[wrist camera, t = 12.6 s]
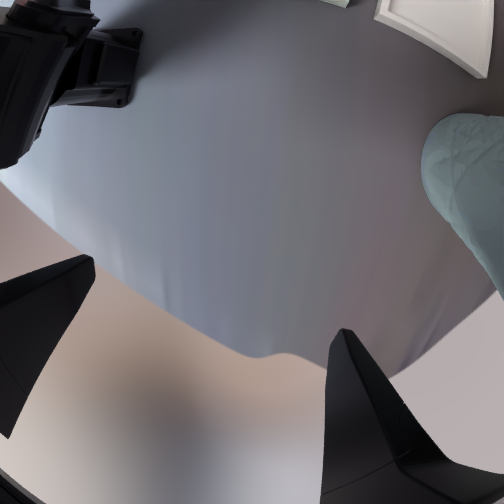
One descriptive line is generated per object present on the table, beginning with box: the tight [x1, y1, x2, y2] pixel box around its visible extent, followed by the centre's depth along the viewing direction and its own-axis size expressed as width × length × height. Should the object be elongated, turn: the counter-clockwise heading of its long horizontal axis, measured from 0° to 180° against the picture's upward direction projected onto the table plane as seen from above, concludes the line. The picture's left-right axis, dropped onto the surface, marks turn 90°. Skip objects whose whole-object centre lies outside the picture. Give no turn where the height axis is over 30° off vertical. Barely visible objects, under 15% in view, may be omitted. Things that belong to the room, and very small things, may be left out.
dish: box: [374, 0, 494, 79], centre depth 9 cm, size 9×9×1 cm
